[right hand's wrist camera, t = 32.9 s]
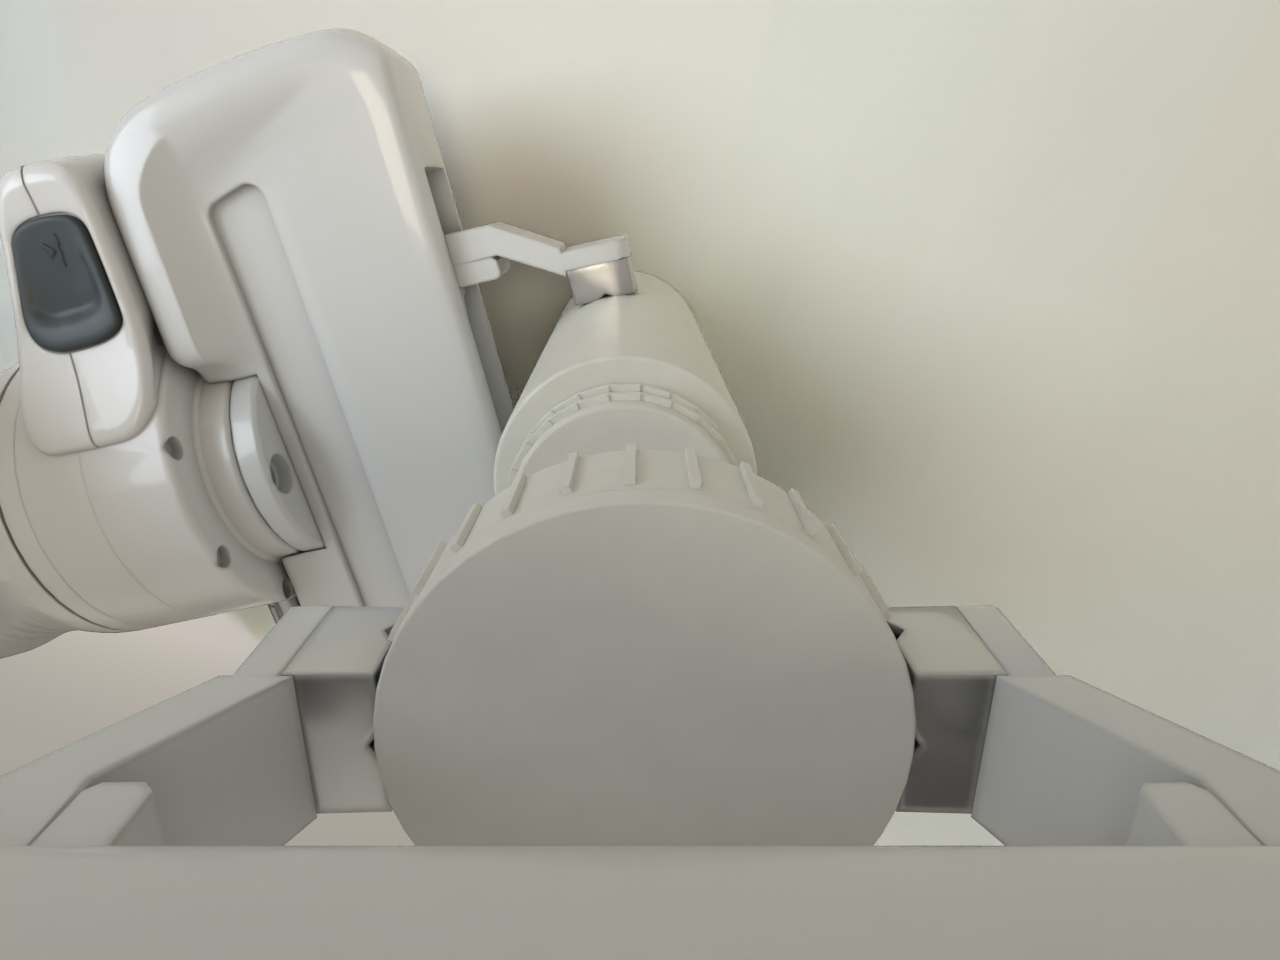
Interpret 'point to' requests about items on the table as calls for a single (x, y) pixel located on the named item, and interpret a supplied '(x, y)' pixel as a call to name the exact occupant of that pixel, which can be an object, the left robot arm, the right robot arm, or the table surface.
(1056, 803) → the right robot arm
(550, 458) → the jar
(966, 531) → the table surface
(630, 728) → the lid
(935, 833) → the table surface
